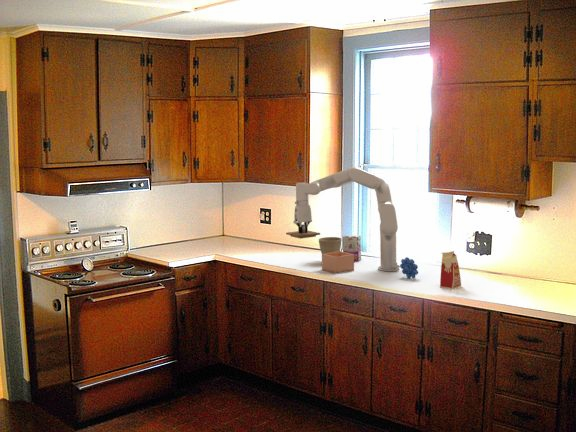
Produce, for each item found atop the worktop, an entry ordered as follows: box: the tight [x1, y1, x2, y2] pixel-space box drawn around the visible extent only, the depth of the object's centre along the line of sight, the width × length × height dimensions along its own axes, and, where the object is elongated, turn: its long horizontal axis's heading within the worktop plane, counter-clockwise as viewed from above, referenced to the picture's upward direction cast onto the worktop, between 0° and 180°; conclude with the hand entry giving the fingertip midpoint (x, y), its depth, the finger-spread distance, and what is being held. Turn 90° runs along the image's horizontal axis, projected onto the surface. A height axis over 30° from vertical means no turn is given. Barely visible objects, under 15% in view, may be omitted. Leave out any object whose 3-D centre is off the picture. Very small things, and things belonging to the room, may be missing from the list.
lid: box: [285, 223, 321, 239], centre depth 398 cm, size 15×15×7 cm
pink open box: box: [321, 250, 355, 275], centre depth 400 cm, size 14×14×10 cm
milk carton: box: [439, 250, 462, 291], centre depth 350 cm, size 9×9×20 cm
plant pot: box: [318, 236, 343, 255], centre depth 421 cm, size 15×15×16 cm
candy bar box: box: [342, 234, 362, 262], centre depth 428 cm, size 11×5×16 cm, turn 62°
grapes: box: [399, 256, 419, 279], centre depth 373 cm, size 12×7×12 cm, turn 49°
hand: (303, 232), depth 398 cm, fingers closed on lid, 3 cm apart
